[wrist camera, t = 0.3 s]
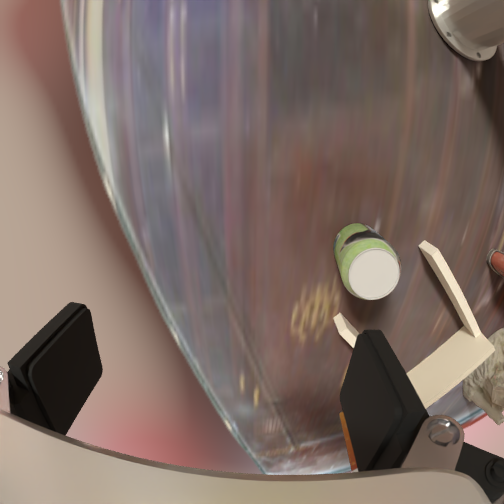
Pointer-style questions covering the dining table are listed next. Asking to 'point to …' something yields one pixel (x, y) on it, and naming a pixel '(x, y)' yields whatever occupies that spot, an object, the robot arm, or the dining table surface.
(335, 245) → the beverage can
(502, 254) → the lighter
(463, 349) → the box
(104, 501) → the robot arm
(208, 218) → the dining table surface
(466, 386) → the ceramic cottage
